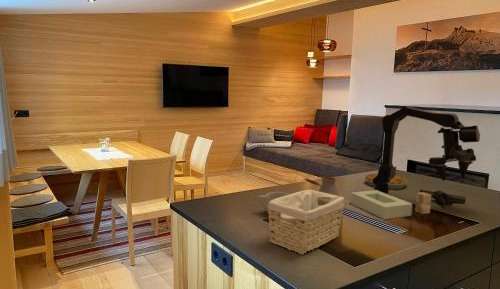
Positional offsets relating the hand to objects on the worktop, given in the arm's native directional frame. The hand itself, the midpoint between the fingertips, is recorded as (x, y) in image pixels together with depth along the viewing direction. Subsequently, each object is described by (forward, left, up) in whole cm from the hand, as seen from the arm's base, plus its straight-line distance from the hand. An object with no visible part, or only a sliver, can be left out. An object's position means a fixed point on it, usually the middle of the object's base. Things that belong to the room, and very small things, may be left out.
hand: (453, 179), depth 156 cm
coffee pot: (-19, -54, -14) cm, 59 cm away
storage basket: (+8, -76, -14) cm, 77 cm away
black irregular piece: (-7, +5, -14) cm, 17 cm away
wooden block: (-2, -14, -14) cm, 20 cm away
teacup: (-20, -75, -14) cm, 78 cm away
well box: (-11, -29, -14) cm, 34 cm away
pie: (-44, +3, -14) cm, 47 cm away
